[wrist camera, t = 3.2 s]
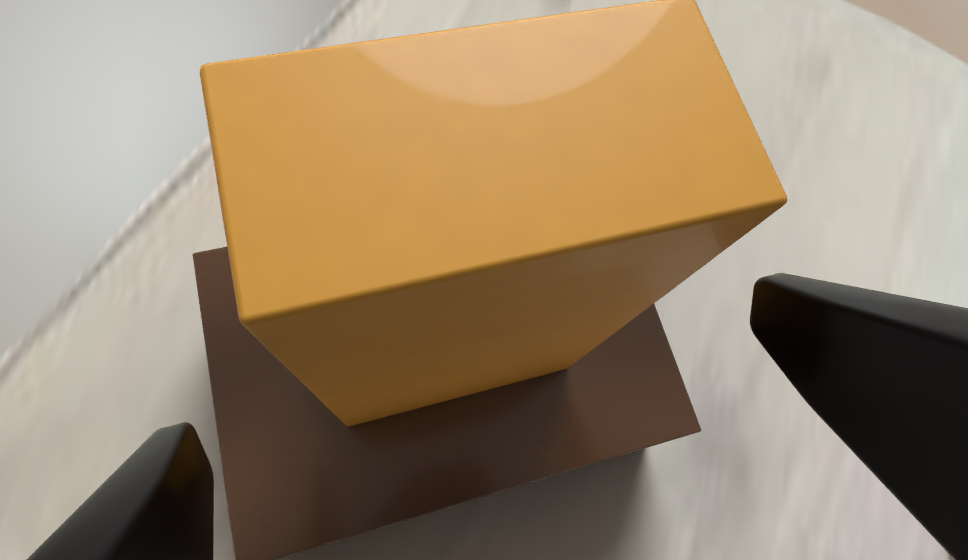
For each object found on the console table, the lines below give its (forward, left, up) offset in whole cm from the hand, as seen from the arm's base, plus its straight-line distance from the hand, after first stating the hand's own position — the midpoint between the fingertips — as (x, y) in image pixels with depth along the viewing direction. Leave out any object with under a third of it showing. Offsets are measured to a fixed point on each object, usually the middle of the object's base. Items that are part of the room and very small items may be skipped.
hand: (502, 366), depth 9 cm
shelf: (+2, +1, -10) cm, 11 cm away
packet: (+2, +1, -6) cm, 7 cm away
